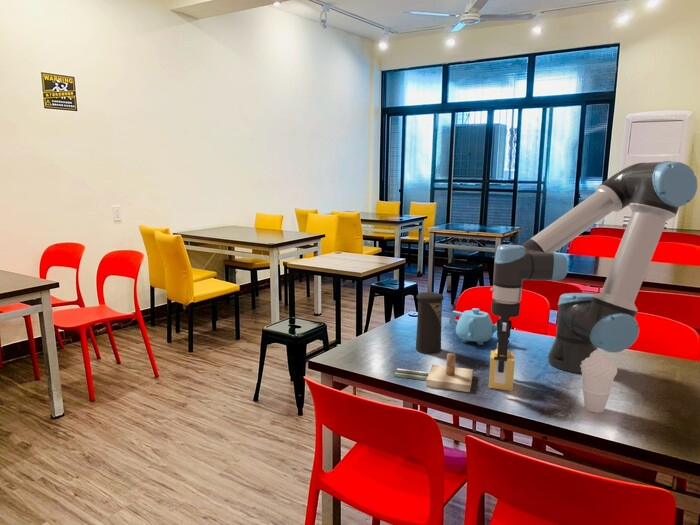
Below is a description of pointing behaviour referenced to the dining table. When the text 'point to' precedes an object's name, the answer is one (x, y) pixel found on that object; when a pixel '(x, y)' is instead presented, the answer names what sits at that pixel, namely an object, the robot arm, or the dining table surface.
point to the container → (429, 322)
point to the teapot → (473, 326)
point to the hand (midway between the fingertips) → (499, 373)
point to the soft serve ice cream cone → (597, 380)
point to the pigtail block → (442, 376)
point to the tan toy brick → (509, 371)
